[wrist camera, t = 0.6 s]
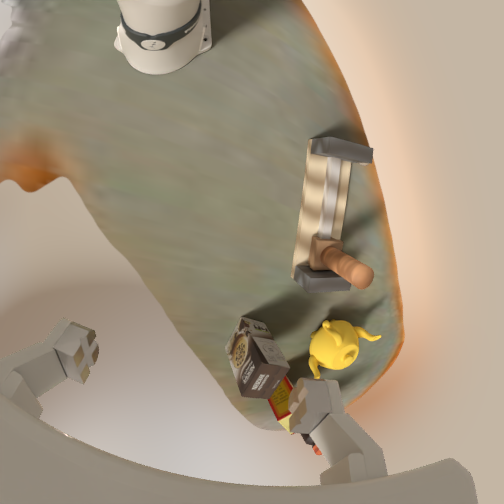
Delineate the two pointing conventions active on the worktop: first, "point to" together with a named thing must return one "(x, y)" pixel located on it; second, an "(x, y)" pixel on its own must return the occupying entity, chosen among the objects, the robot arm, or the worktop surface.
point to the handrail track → (315, 205)
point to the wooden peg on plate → (338, 262)
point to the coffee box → (255, 359)
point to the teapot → (335, 345)
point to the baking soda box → (282, 402)
